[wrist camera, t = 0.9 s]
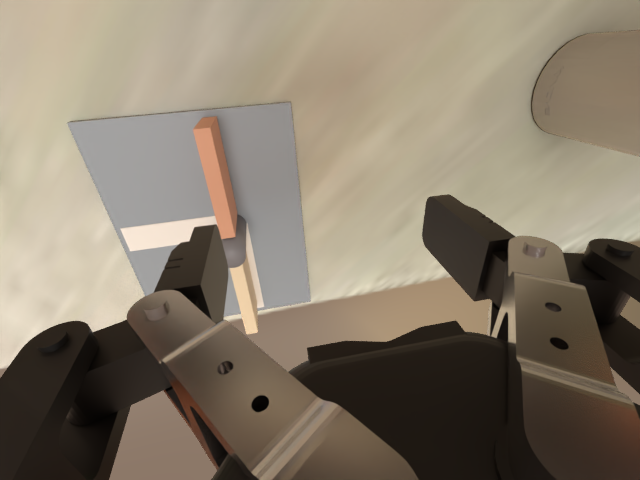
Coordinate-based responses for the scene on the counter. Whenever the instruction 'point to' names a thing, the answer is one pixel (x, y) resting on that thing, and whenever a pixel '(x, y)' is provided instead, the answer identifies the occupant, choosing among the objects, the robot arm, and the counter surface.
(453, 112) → the counter surface
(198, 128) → the salmon long narrow block
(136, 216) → the slate board
